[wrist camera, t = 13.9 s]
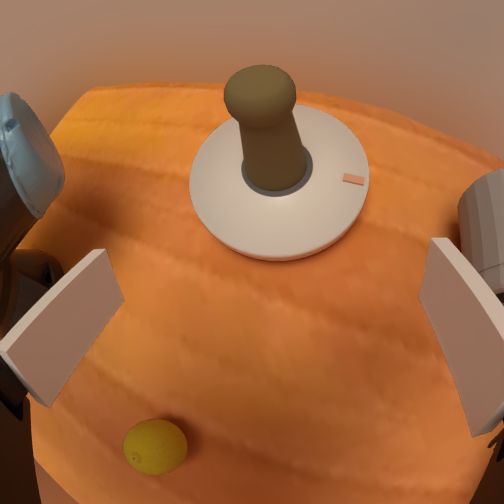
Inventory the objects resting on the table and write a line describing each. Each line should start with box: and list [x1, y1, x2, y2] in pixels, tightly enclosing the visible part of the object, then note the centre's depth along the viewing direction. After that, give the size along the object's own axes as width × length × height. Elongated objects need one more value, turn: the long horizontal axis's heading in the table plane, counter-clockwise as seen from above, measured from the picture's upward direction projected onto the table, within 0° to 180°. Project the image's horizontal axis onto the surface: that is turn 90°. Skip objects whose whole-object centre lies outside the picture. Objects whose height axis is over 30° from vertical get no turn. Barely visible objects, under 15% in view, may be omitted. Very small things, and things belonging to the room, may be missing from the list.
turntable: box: [189, 104, 369, 261], centre depth 28 cm, size 18×18×2 cm
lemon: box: [123, 419, 188, 475], centre depth 21 cm, size 6×6×8 cm
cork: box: [224, 65, 307, 191], centre depth 22 cm, size 6×6×11 cm
